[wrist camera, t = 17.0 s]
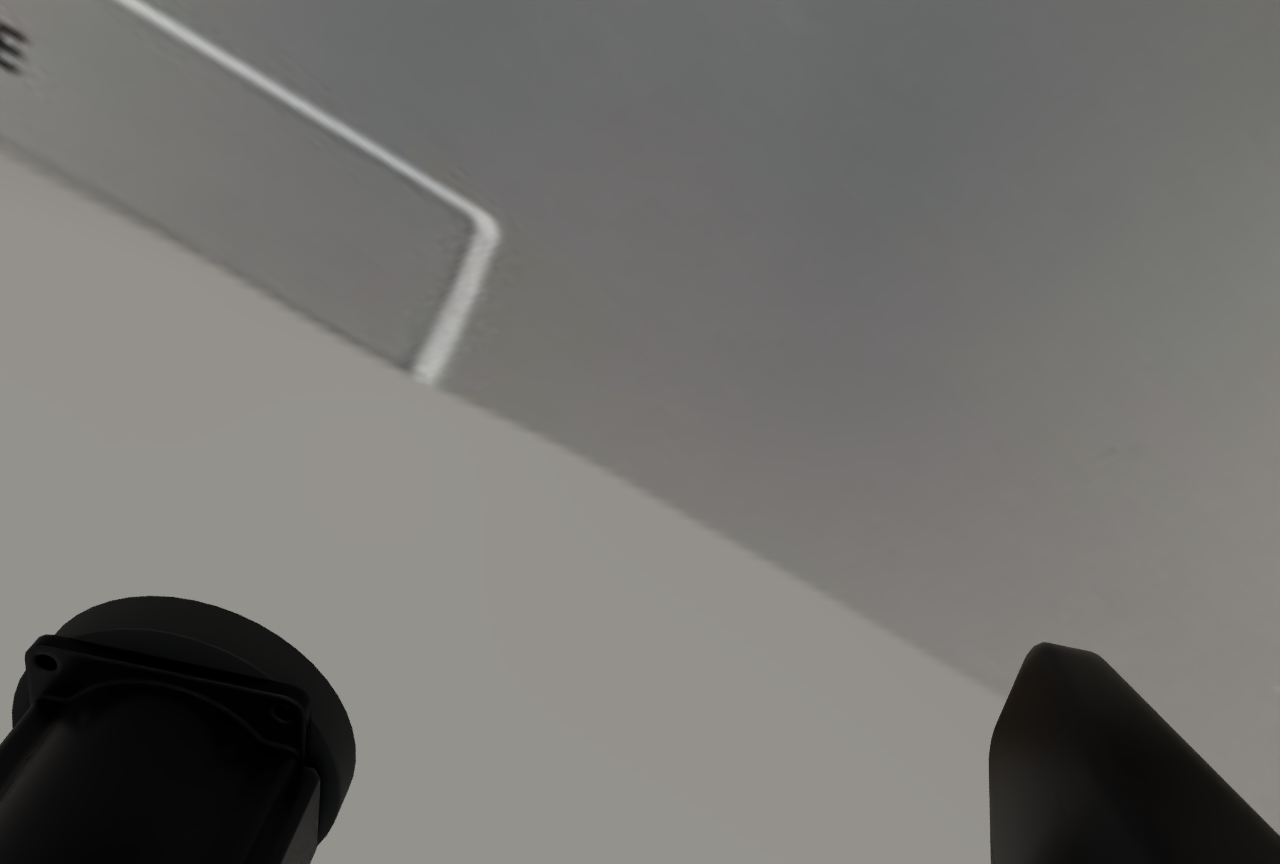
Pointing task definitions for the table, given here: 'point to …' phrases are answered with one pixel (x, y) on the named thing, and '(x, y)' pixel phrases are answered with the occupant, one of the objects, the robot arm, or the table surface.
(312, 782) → the robot arm
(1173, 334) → the table surface
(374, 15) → the table surface
